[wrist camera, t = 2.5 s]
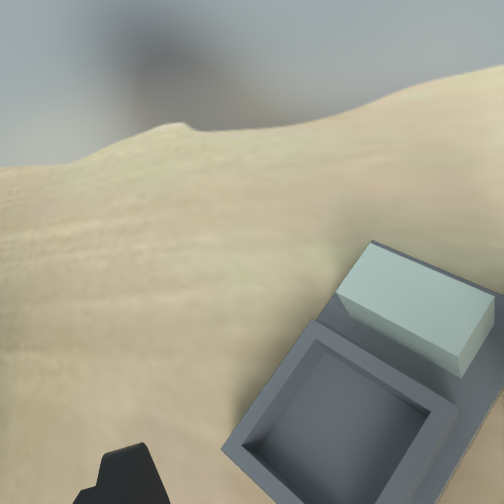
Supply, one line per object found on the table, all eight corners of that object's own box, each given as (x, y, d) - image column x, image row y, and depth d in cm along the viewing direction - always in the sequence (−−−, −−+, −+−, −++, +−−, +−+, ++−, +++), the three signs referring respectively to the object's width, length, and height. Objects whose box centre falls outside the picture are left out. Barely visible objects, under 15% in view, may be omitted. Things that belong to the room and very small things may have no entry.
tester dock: (385, 591, 25) (366, 598, 21) (233, 449, 32) (198, 434, 28) (543, 319, 29) (551, 282, 25) (374, 246, 36) (360, 209, 32)
